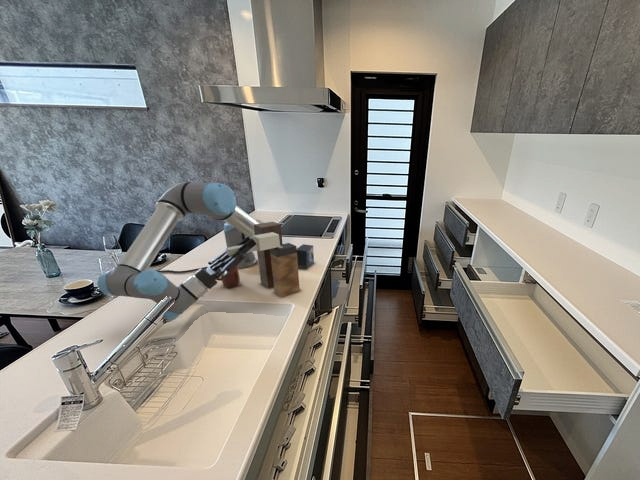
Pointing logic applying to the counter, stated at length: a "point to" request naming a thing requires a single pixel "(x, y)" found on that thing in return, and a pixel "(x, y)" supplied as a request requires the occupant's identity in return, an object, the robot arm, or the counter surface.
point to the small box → (305, 256)
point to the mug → (231, 278)
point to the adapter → (283, 250)
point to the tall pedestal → (266, 252)
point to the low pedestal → (285, 274)
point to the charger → (259, 243)
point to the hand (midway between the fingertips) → (252, 240)
